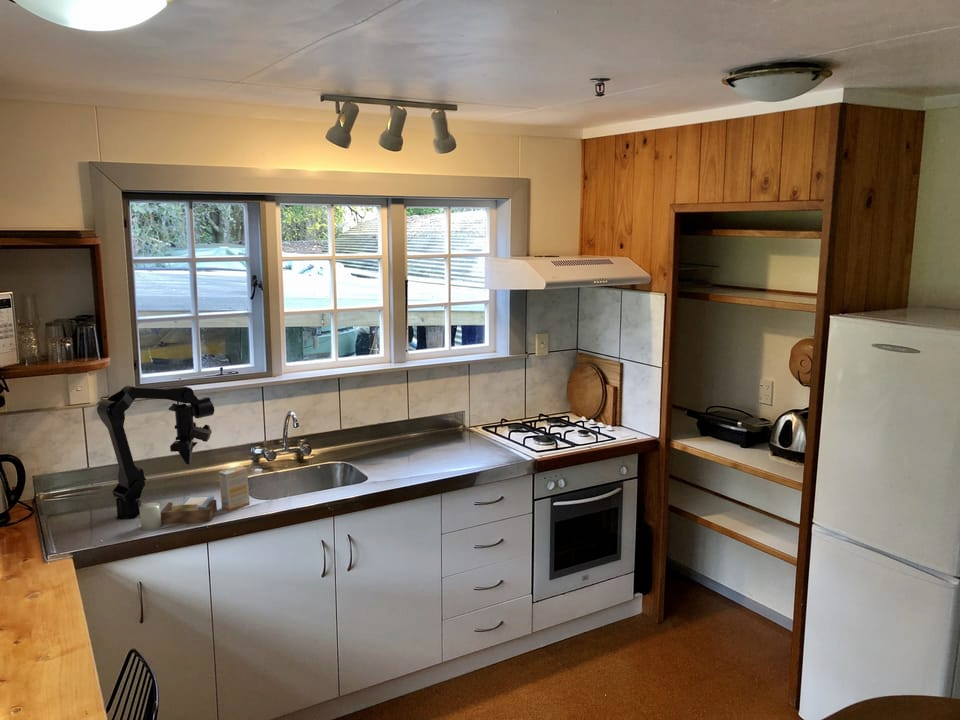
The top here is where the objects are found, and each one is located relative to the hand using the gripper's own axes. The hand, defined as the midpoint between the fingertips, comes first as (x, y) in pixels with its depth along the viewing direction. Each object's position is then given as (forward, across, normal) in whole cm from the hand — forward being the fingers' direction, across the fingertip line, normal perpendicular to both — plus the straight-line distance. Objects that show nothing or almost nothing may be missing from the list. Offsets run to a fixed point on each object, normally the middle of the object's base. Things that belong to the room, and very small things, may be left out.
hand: (188, 464), depth 269 cm
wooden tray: (+12, -22, -5) cm, 25 cm away
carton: (+12, -20, -7) cm, 24 cm away
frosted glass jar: (+12, -28, +5) cm, 31 cm away
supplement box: (+12, -13, -18) cm, 25 cm away
